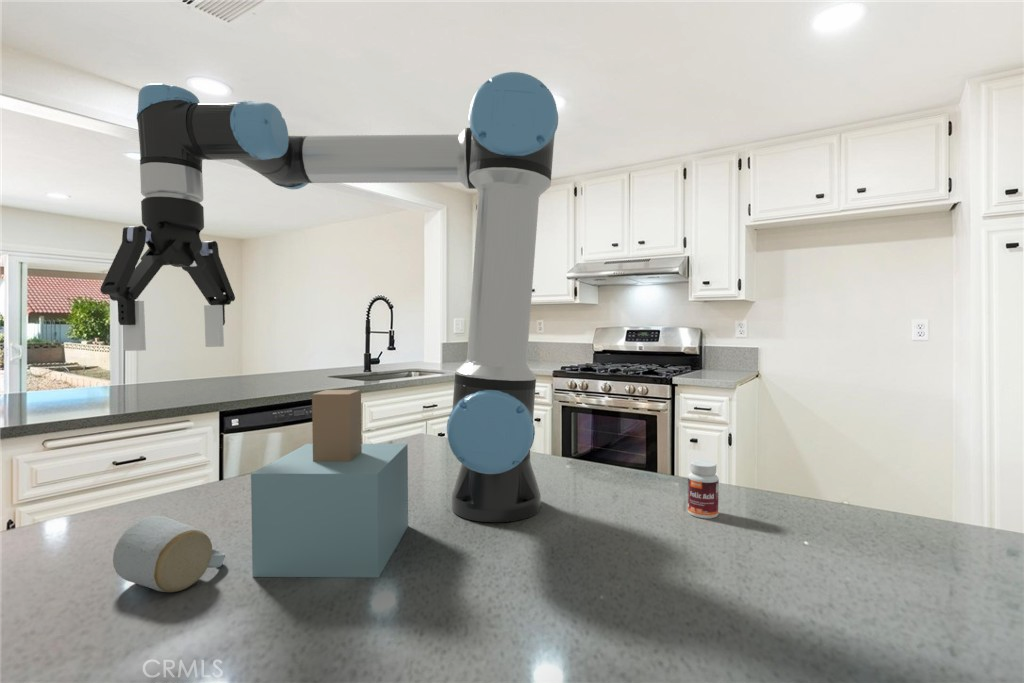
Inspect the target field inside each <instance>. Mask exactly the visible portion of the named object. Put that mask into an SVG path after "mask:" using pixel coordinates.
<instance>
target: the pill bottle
mask: <svg viewBox="0 0 1024 683" xmlns="http://www.w3.org/2000/svg"><path fill="white" fill-rule="evenodd" d="M689 469H690V473H688V476H687V513H688V514H689V515H691V516H692V517H695V518H698V519H699V518H700V519H705V520H706V519H707V520H708V519H709V520H710V519H715V518H716V517H718V516H719V488H720V487H719V482H720V481H719V480H720V479H719V477H718V475H717V464H716V463H715V462H714V461H709V460H701V459H700V460H699V459H695V460H691V461H690V466H689Z"/></svg>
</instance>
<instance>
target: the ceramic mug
mask: <svg viewBox="0 0 1024 683" xmlns="http://www.w3.org/2000/svg"><path fill="white" fill-rule="evenodd" d="M225 557H226V553H224V552H222V551H221V550H217V549H214V548H213V545H212V542H211V539H210V538H209V536H208V535H207V534H206V533H205V532H204V531H202V530H201V529H199V528H196V527H195V526H192V525H189V524H186V523H183V522H181V521H178V520H176V519H173V518H170V517H167V516H164V515H150V516H145V517H144V518H142V519H139V520H138V521H136V522H133V523H132V524H131V525H130V526H128V528H126V530H124V532H123V533H122V535H121V536H120V538H119V539H118V540H117V542H116V544H115V548H114V550H113V556H112V564H113V568H114V571H115V572H116V574H117V575H118V576H119V577H120V578H122V580H125V581H127V582H131V583H133V584H136V585H139V586H142V587H146V588H149V589H152V590H154V591H157V592H161V593H162V592H163V593H177V592H180V591H183V590H186V589H188V588H190V587H191V586H192V585H194V584H196V582H197V581H199V580H200V578H201V577H202V576H203V575H204V574H205V572H206V570H207V569H208V568H209V569H211V568H216V569H217V568H221V567H222V565H223V564H224V561H225Z"/></svg>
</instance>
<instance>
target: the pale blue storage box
mask: <svg viewBox="0 0 1024 683" xmlns="http://www.w3.org/2000/svg"><path fill="white" fill-rule="evenodd" d="M311 407H312V408H311V414H312V416H311V418H312V419H311V420H312V422H311V423H312V424H311V425H312V427H311V428H312V443H305V444H304V445H301V446H300V447H298V448H296V449H295V450H293V451H291V452H289V453H287V454H285V455H283V456H281V457H279V458H278V459H275V460H274V461H272V462H270V463H268V464H266V465H265V466H262V467H261V468H259V469H257V470H255V471H253V472H251V473H250V488H251V489H250V492H251V493H250V499H251V501H250V502H251V503H250V504H251V505H250V506H251V552H252V553H251V557H252V558H251V561H252V562H251V563H252V569H251V570H252V578H258V577H259V578H373V579H374V578H380V576H381V575H382V572H383V571H384V569H385V568H386V566H387V564H388V562H389V561H390V559H391V557H392V555H393V553H394V552H395V550H396V548H397V547H398V545H399V543H400V541H401V539H402V538H403V536H404V534H406V531H407V529H408V528H409V468H408V464H409V458H408V457H409V456H408V453H409V452H408V451H409V450H408V449H409V448H408V447H409V446H408V445H409V443H362V442H363V441H362V389H326V390H321V391H318V392H316V393H312V394H311Z"/></svg>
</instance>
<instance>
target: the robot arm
mask: <svg viewBox="0 0 1024 683" xmlns="http://www.w3.org/2000/svg"><path fill="white" fill-rule="evenodd" d="M136 121H137V128H138V129H137V130H138V139H139V140H138V141H139V154H140V155H139V156H140V159H139V174H140V175H139V177H140V194H141V195H142V196H143V197H144V198H143V199H142V200H140V203H141V205H140V206H141V207H140V208H141V222H142V225H132V226H131V225H130V226H125V227H123V228H122V238H121V244H120V246H119V248H118V249H117V252H116V254H115V257H114V258H113V260H112V263H111V265H110V267H109V269H108V271H107V273H106V275H105V277H104V279H103V282H102V284H101V286H100V289H99V290H100V292H101V294H103V295H105V296H106V295H107V296H109V299H110V300H111V301H113V302H115V301H117V319H118V320H117V321H118V324H119V326H122V338H123V341H122V342H123V351H124V352H126V351H128V352H129V351H133V352H134V351H135V352H136V351H139V352H141V351H146V350H147V347H146V346H147V345H146V344H147V342H146V322H145V318H146V317H145V300H137V299H138V298H139V297H140V295H141V294H142V293H143V292H144V291H145V289H146V288H147V287H148V286H149V284H150V283H151V281H152V280H153V279H154V277H155V276H156V275H157V273H158V272H159V271H160V269H161V268H162V267H164V266H172V267H177V268H182V270H183V271H185V272H187V274H189V275H188V276H189V277H190V278H191V279H192V280H193V283H194V284H195V285H196V287H197V289H198V290H199V291H200V293H201V294H202V296H203V297H204V298H205V300H206V302H207V303H208V305H204V306H203V309H204V310H203V311H204V314H203V315H204V340H205V341H204V342H205V343H204V345H205V348H213V347H215V348H216V347H218V348H219V347H221V348H222V347H225V339H224V326H225V324H226V316H225V315H226V314H225V313H226V312H225V309H226V308H225V306H227V305H231V304H232V302H234V301H235V300H236V296H235V294H234V290H233V288H232V285H231V283H230V280H229V278H228V275H227V273H226V270H225V267H224V265H223V262H222V260H221V257H220V253H219V245H218V242H217V241H216V240H210V241H209V240H208V241H202V240H201V237H200V233H201V232H202V231H203V230H204V228H205V215H204V214H205V212H204V206H203V205H202V202H203V201H204V183H203V160H207V161H210V160H212V161H214V160H217V161H218V160H219V161H220V160H224V161H225V160H235V161H238V162H240V163H241V164H242V165H245V166H246V167H248V168H249V169H251V170H253V171H255V172H256V173H257V174H260V175H261V176H263V177H264V178H266V179H267V180H268V181H270V182H271V183H272V184H274V185H276V186H278V187H282V188H285V189H288V190H300V189H302V188H303V187H305V186H307V185H309V184H354V183H355V184H360V183H361V184H364V183H365V184H366V183H367V184H368V183H369V184H372V183H373V184H376V183H377V184H380V183H381V184H385V183H387V184H388V183H390V184H392V183H394V184H396V183H397V184H398V183H399V184H400V183H401V184H403V183H405V184H406V183H410V184H411V183H415V184H416V183H461V184H462V185H463V186H464V187H465V188H467V189H469V190H471V189H472V190H473V189H476V190H477V191H478V197H477V198H478V201H477V213H476V214H477V215H476V227H475V228H476V229H475V239H474V240H475V242H474V252H473V253H474V256H473V257H474V258H473V270H472V271H473V272H472V284H471V296H470V298H471V299H470V310H469V311H470V312H469V326H468V338H467V354H466V360H465V361H464V363H462V364H461V365H460V366H458V368H457V369H455V373H454V382H453V383H454V385H453V400H452V409H451V412H450V413H449V417H448V419H447V423H446V436H447V442H448V445H449V448H450V450H451V452H452V454H453V455H454V456H455V458H456V459H457V460H458V462H460V464H461V465H460V468H459V470H458V475H457V478H456V480H455V484H454V488H453V491H452V495H451V510H452V512H453V513H454V514H455V515H457V516H459V517H460V518H462V519H466V520H470V521H475V522H483V523H507V522H515V521H519V520H523V519H527V518H529V517H532V516H534V515H536V514H537V513H538V512H539V511H540V510H541V507H542V506H541V504H542V502H541V499H542V496H541V491H540V488H539V485H538V482H537V479H536V478H537V477H536V476H535V472H534V469H533V466H532V463H531V449H532V447H533V444H534V441H535V436H536V431H535V430H536V428H535V425H534V424H535V423H534V413H535V397H536V385H537V384H536V383H537V376H536V375H535V373H534V372H533V371H532V370H531V368H529V366H528V362H527V361H528V352H529V351H528V350H529V349H528V348H529V338H530V335H529V334H530V325H531V324H530V323H531V308H532V296H533V283H534V267H535V258H536V256H535V255H536V241H537V231H538V230H537V227H538V215H539V202H540V201H539V200H540V197H541V195H543V194H544V193H545V192H546V191H547V190H548V189H549V188H550V187H551V184H552V172H553V171H552V170H553V158H554V147H555V146H554V145H555V136H556V131H557V129H558V127H559V126H558V125H559V113H558V107H557V103H556V100H555V97H554V96H553V93H552V92H551V90H550V89H549V88H548V87H547V85H546V84H544V83H543V82H542V81H541V80H540V79H538V78H537V77H535V76H532V75H531V74H528V73H525V72H519V71H509V72H508V71H507V72H503V73H499V74H497V75H494V76H492V77H490V78H489V79H488V80H486V81H484V83H482V84H481V85H480V86H479V87H478V89H477V90H476V92H475V93H474V95H473V97H472V100H471V102H470V106H469V113H468V124H469V127H465V128H463V130H462V131H461V132H460V133H458V134H371V135H369V134H368V135H367V134H365V135H364V134H363V135H362V134H361V135H359V134H357V135H356V134H355V135H353V134H352V135H350V134H349V135H348V134H347V135H343V134H342V135H289V130H288V127H287V123H286V119H285V118H284V117H283V116H282V112H281V110H280V108H278V107H277V106H276V105H275V104H272V103H271V102H264V101H263V102H261V101H259V102H258V101H252V100H243V101H234V102H233V101H232V102H231V101H230V102H213V103H212V102H210V103H207V102H206V103H200V100H199V97H198V96H196V94H194V93H193V92H192V91H190V90H188V89H186V88H183V87H180V86H177V85H173V84H172V85H166V84H165V83H149V84H145V85H143V86H142V87H141V88H140V90H139V92H138V100H137V114H136ZM145 227H146V228H145ZM145 245H147V247H148V249H147V250H146V251H145V252H144V253H143V251H144V249H145ZM142 253H143V254H142ZM141 255H142V256H141ZM139 260H140V262H139ZM138 262H139V263H138Z"/></svg>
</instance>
